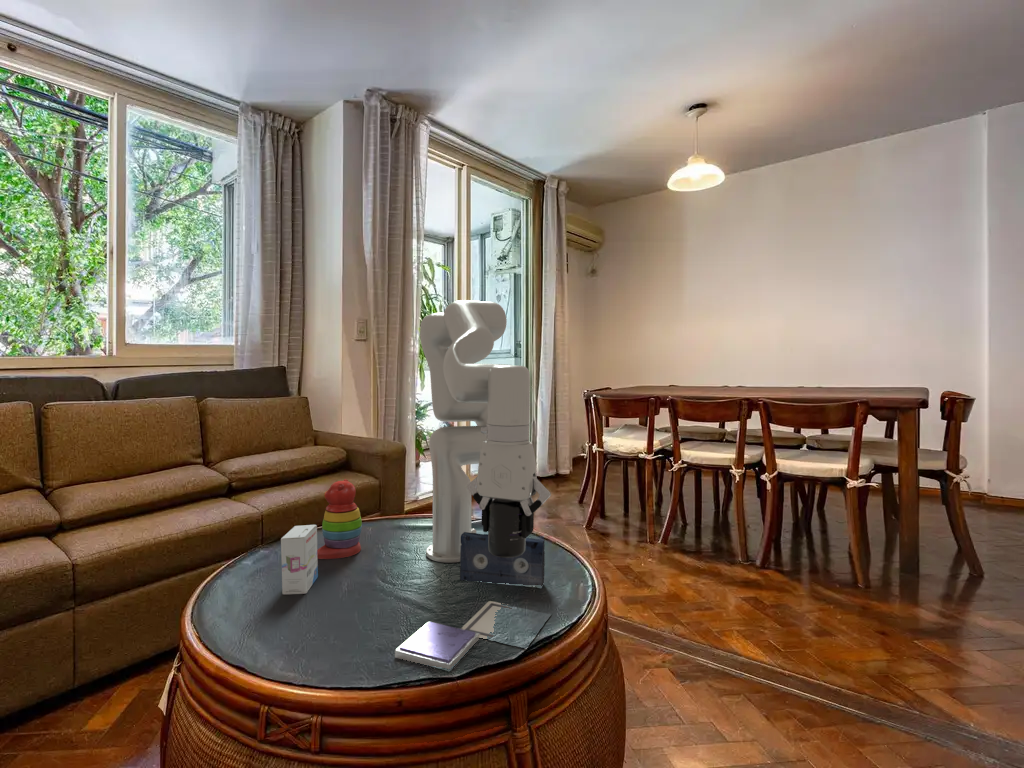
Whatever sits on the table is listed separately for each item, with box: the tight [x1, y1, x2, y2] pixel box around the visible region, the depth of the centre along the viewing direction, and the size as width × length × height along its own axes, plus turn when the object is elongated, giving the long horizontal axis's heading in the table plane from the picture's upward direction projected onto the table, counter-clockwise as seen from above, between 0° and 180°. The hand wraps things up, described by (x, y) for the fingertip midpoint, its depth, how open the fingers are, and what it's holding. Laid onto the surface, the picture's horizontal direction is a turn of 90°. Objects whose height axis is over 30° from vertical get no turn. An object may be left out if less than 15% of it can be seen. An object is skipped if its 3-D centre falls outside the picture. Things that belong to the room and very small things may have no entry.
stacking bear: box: [317, 478, 363, 560], centre depth 127 cm, size 11×10×18 cm
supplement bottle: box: [487, 499, 527, 558], centre depth 91 cm, size 7×7×12 cm
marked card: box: [460, 600, 512, 640], centre depth 92 cm, size 13×13×1 cm
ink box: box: [280, 524, 319, 595], centre depth 107 cm, size 9×5×12 cm, turn 5°
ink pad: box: [394, 621, 480, 669], centre depth 84 cm, size 10×10×2 cm
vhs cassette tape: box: [459, 532, 546, 586], centre depth 110 cm, size 18×3×10 cm, turn 76°
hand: (507, 531), depth 91 cm, fingers closed on supplement bottle, 6 cm apart
